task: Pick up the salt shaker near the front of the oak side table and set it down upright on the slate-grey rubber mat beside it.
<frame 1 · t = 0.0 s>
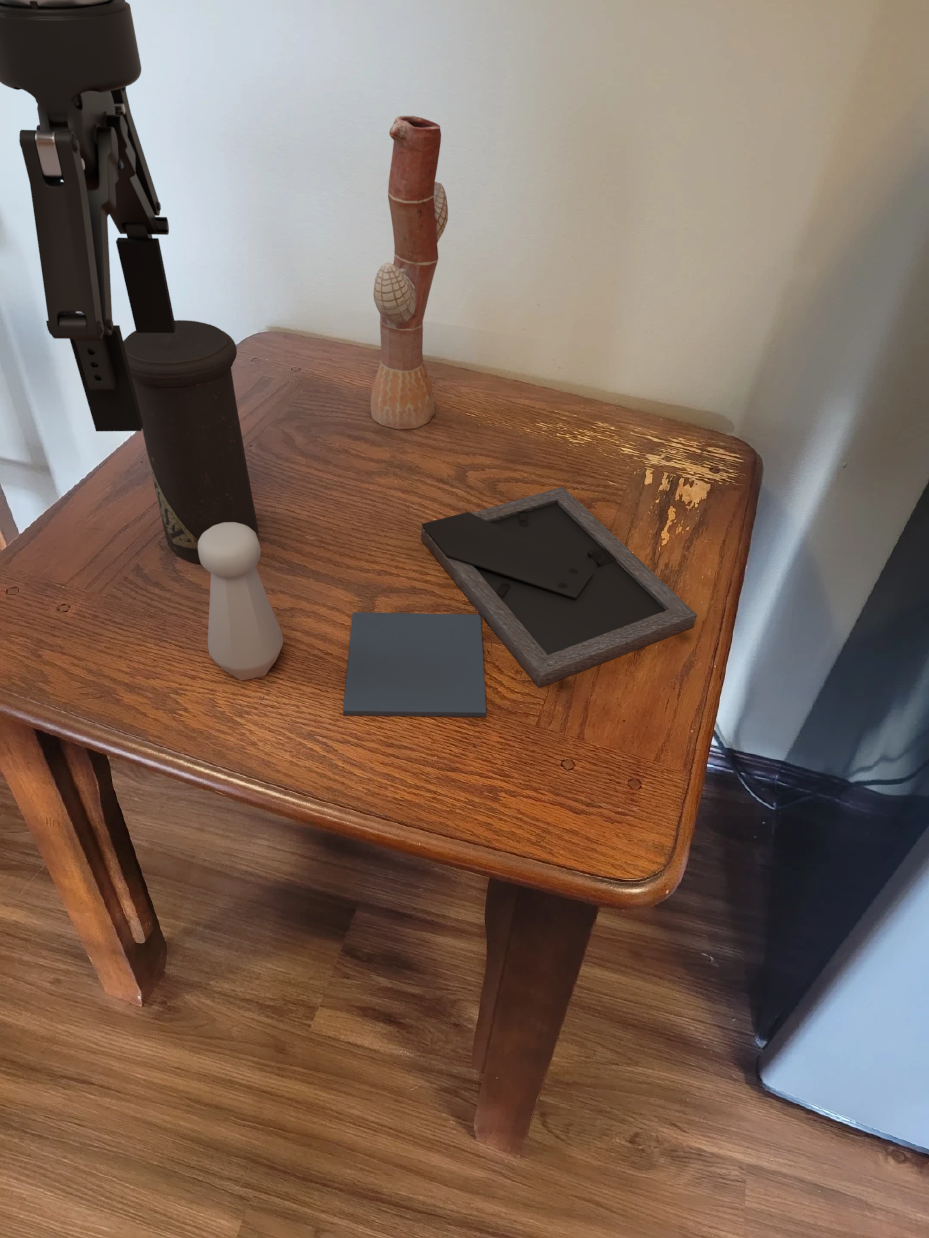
hand: (139, 376, 58), 22 cm above the table, tool pointing down, fingers open, 13 cm apart
container: (214, 539, 80), on the table
vase: (408, 412, 99), on the table
mat: (415, 664, 69), on the table
salt shaker: (249, 663, 69), on the table
picture frame: (550, 583, 78), on the table
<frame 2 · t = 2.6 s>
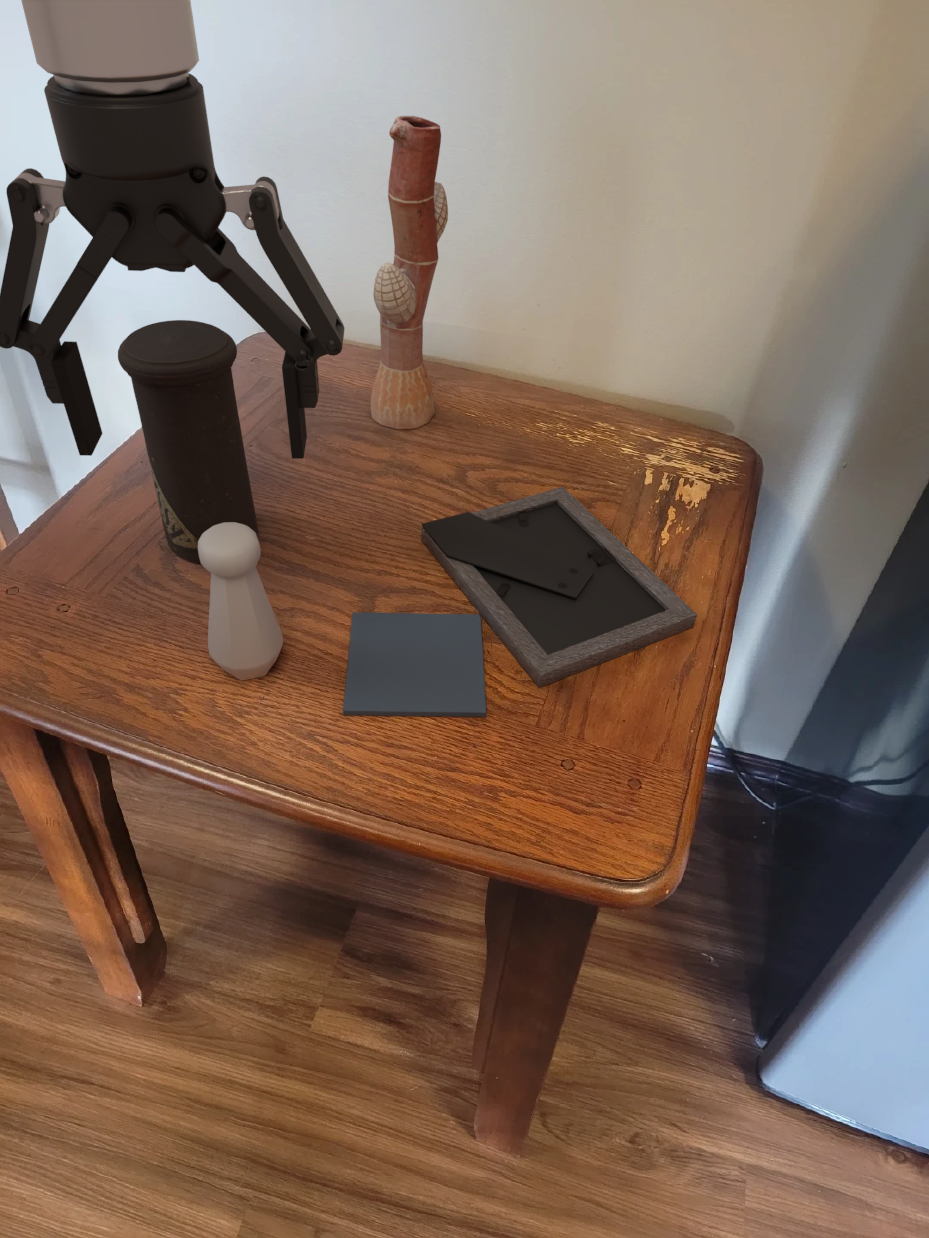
hand: (196, 446, 56), 19 cm above the table, tool pointing down, fingers open, 13 cm apart
nothing on the table moved.
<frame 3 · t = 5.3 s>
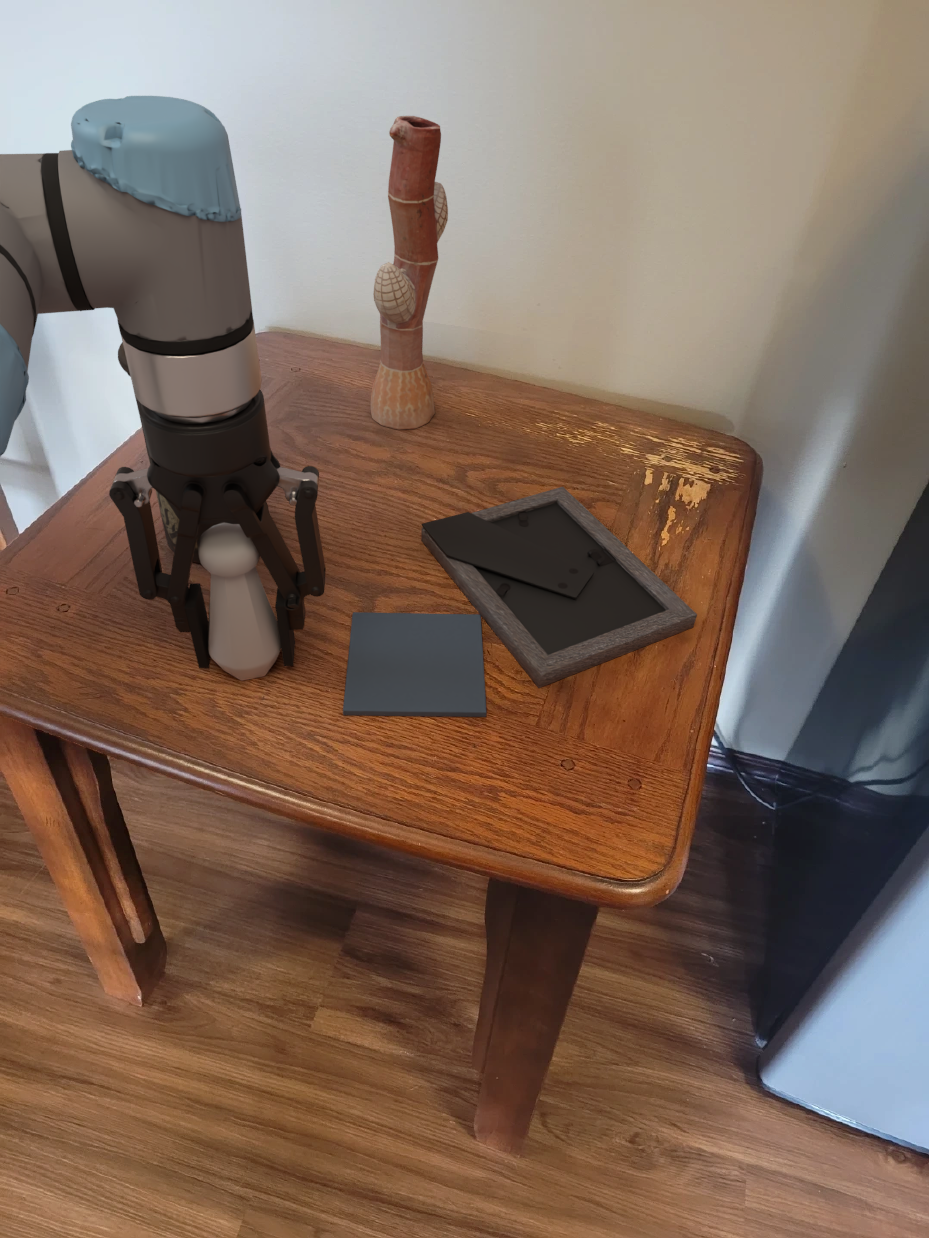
hand: (248, 654, 68), 1 cm above the table, tool pointing down, fingers closed on salt shaker, 6 cm apart
salt shaker: (249, 663, 69), on the table, touching gripper
everything else where it was.
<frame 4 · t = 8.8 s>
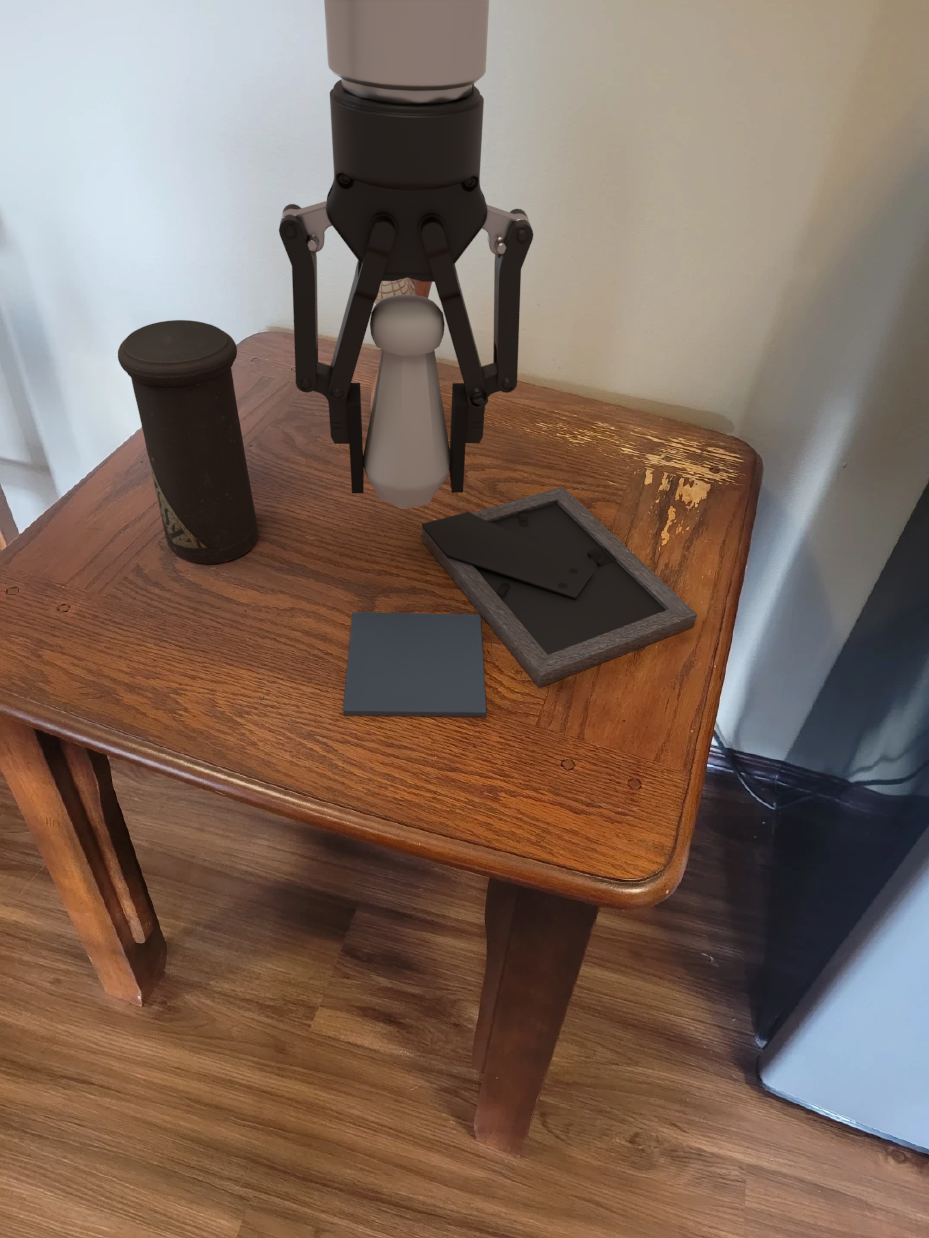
hand: (407, 480, 57), 18 cm above the table, tool pointing down, fingers closed on salt shaker, 6 cm apart
salt shaker: (406, 493, 58), point 17 cm above the table, touching gripper
everything else where it was.
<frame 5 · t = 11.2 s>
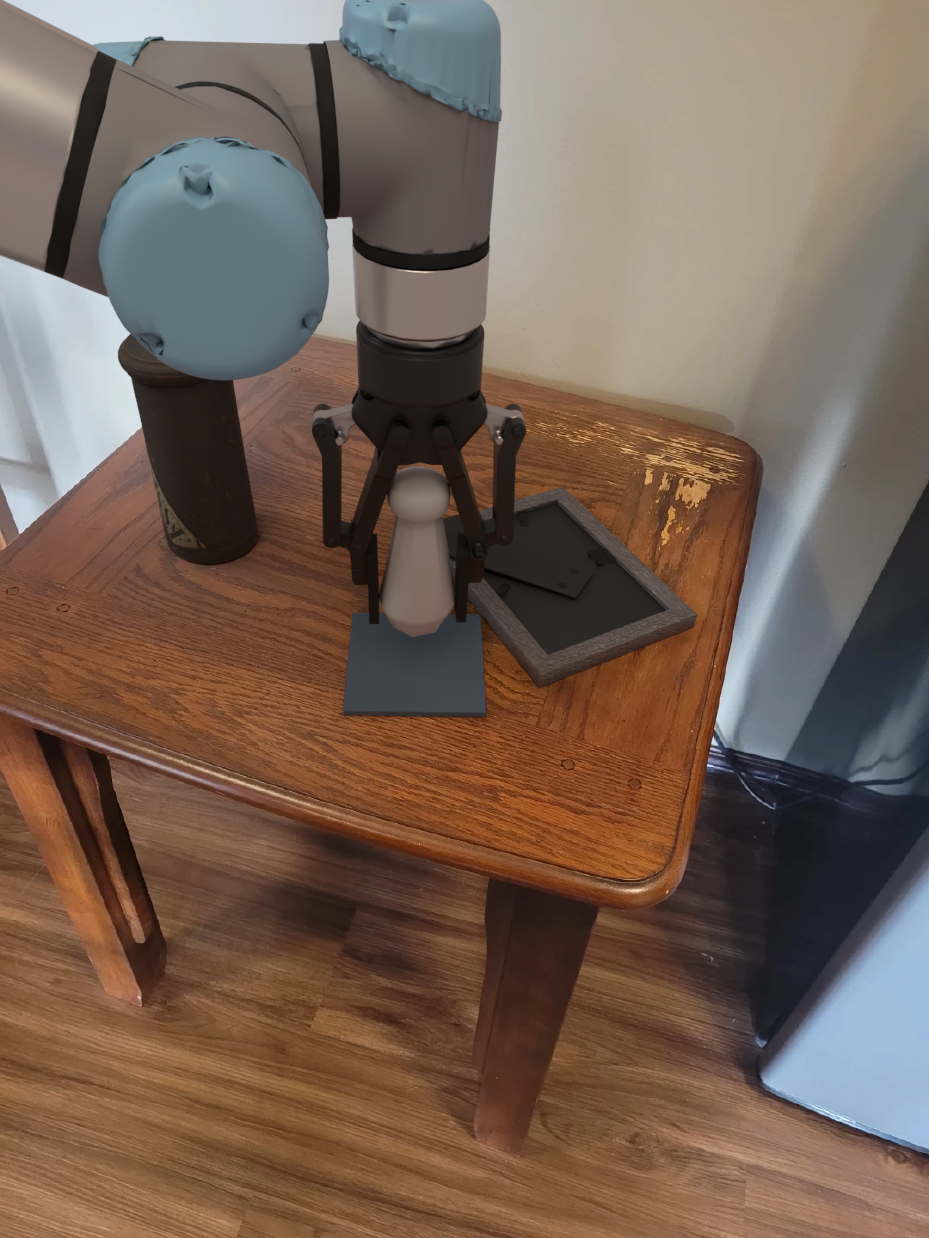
hand: (417, 610, 65), 6 cm above the table, tool pointing down, fingers closed on salt shaker, 6 cm apart
salt shaker: (417, 620, 66), point 5 cm above the table, touching gripper
everything else where it was.
when the fingers open (1 cm above the table, at t = 12.7 s): salt shaker stays where it is, resting on mat.
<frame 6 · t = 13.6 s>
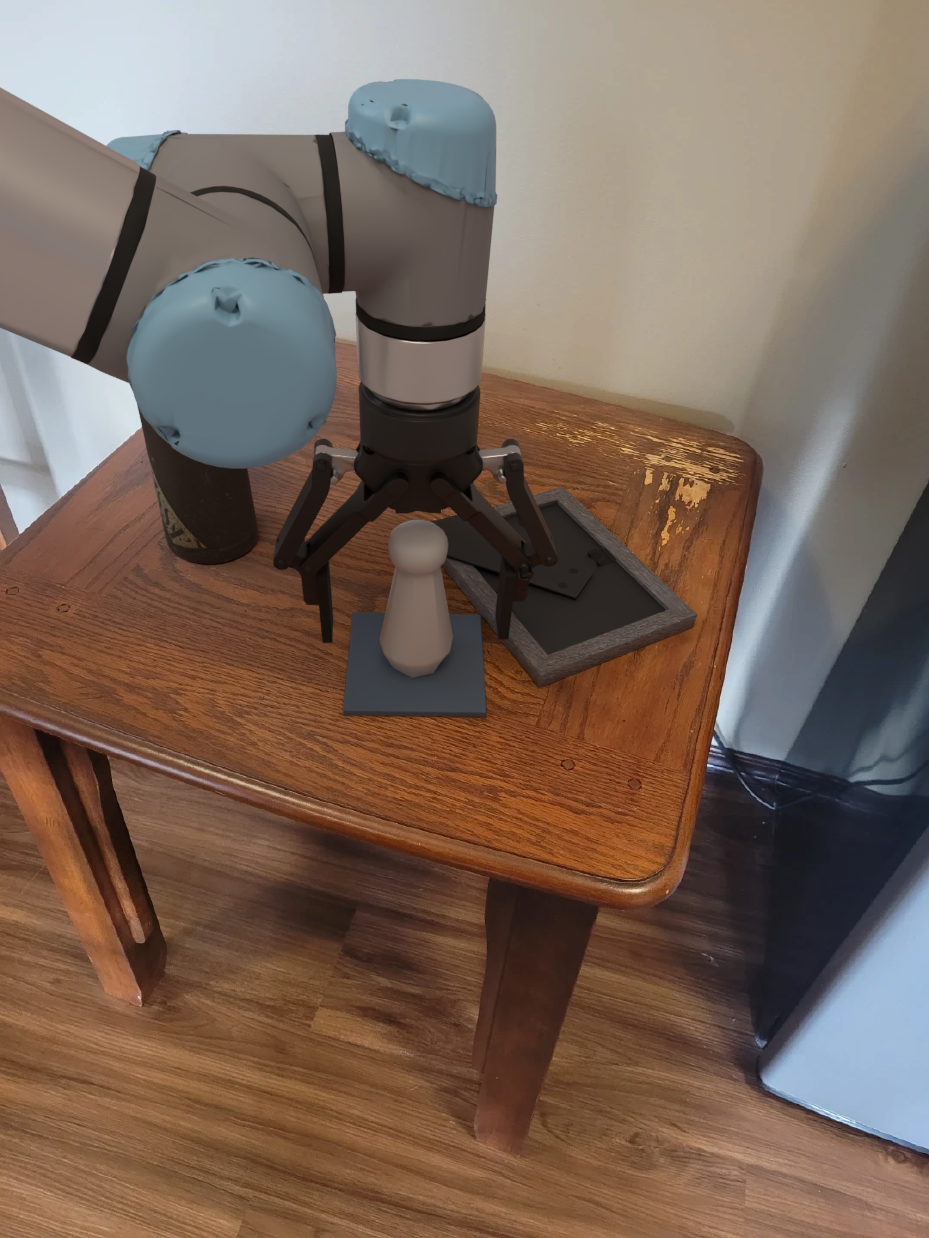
hand: (415, 629, 67), 4 cm above the table, tool pointing down, fingers open, 13 cm apart
salt shaker: (415, 660, 69), resting on mat
everything else where it was.
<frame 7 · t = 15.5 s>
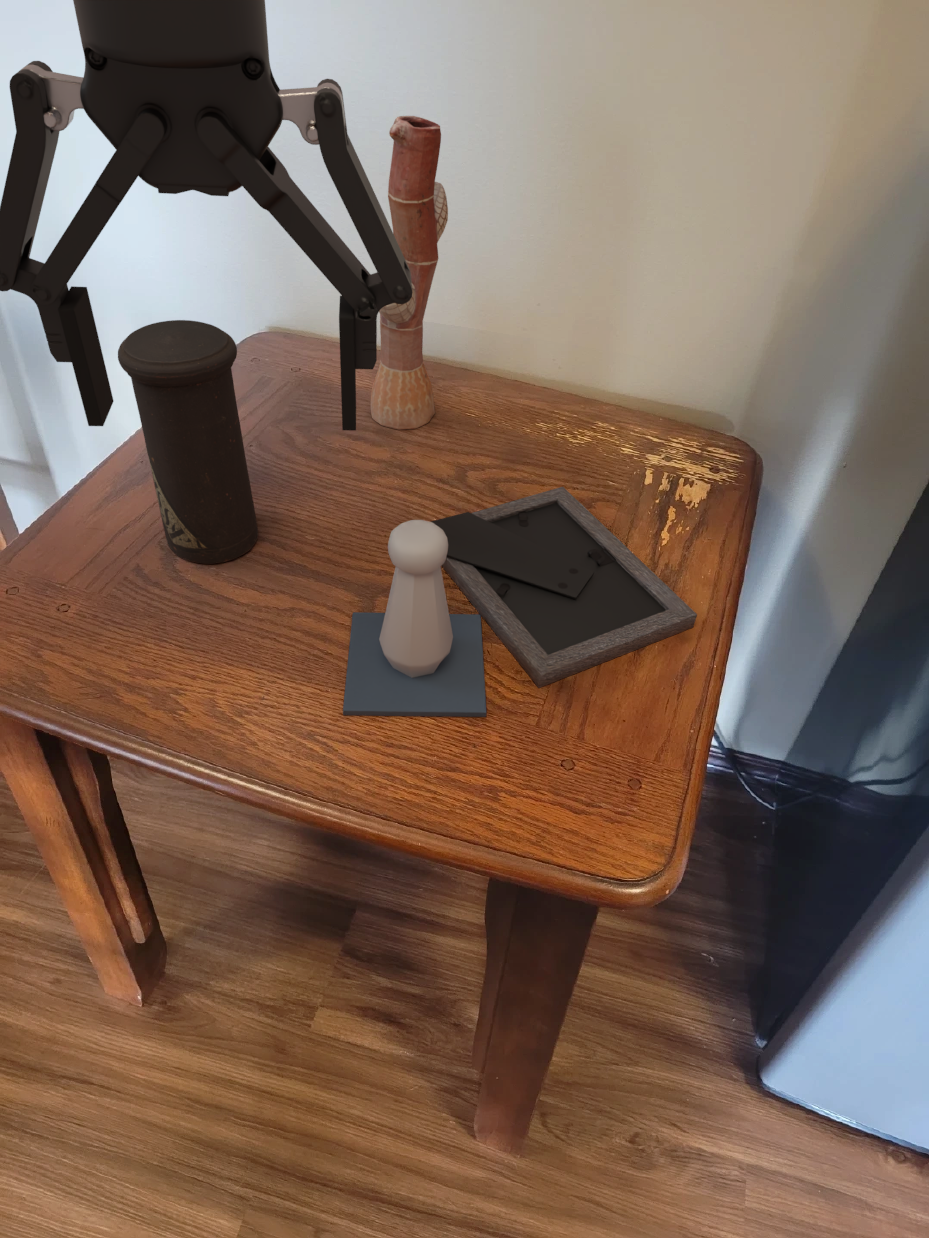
hand: (227, 416, 48), 25 cm above the table, tool pointing down, fingers open, 13 cm apart
nothing on the table moved.
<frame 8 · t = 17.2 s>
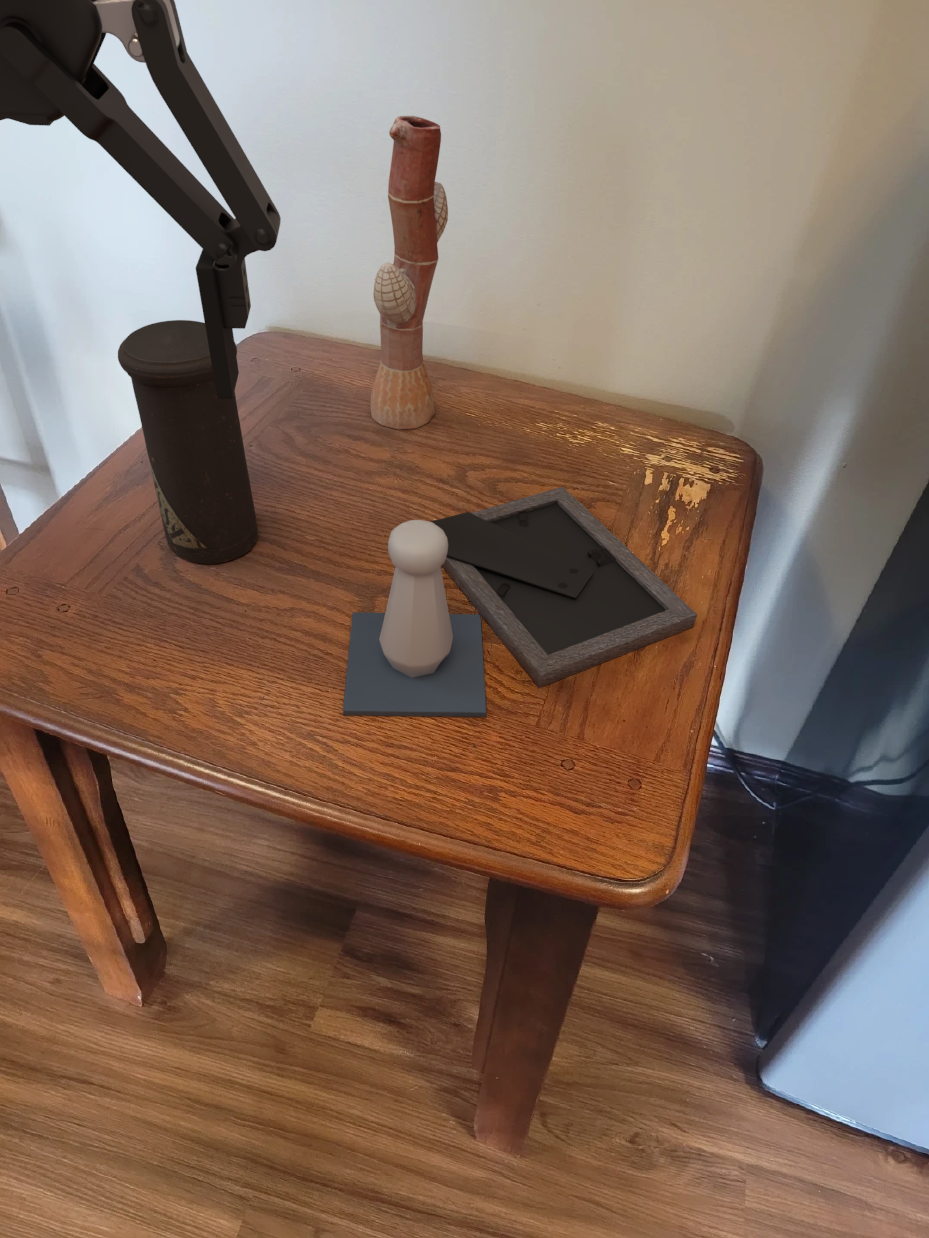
hand: (91, 385, 43), 29 cm above the table, tool pointing down, fingers open, 13 cm apart
nothing on the table moved.
at the end: salt shaker inside the target area on the mat (0.0 cm from its centre), point 0.4 cm above the mat's base; salt shaker tilted 0°; salt shaker touching mat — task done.
